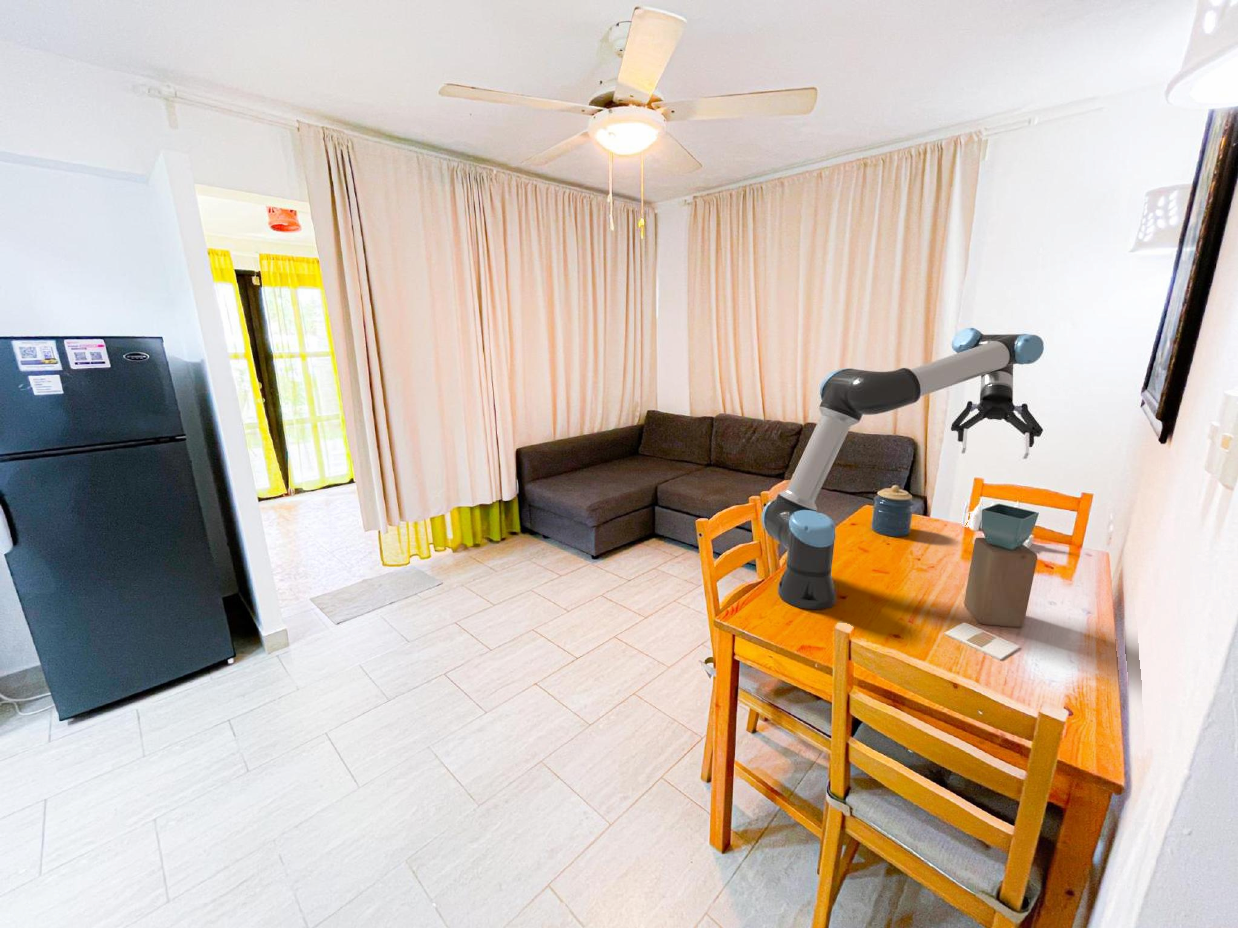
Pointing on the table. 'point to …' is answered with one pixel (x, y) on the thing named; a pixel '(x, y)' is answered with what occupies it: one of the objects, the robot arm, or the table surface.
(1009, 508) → the flower pot
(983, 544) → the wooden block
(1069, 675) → the table surface
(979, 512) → the toy castle
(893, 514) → the canister
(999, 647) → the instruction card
